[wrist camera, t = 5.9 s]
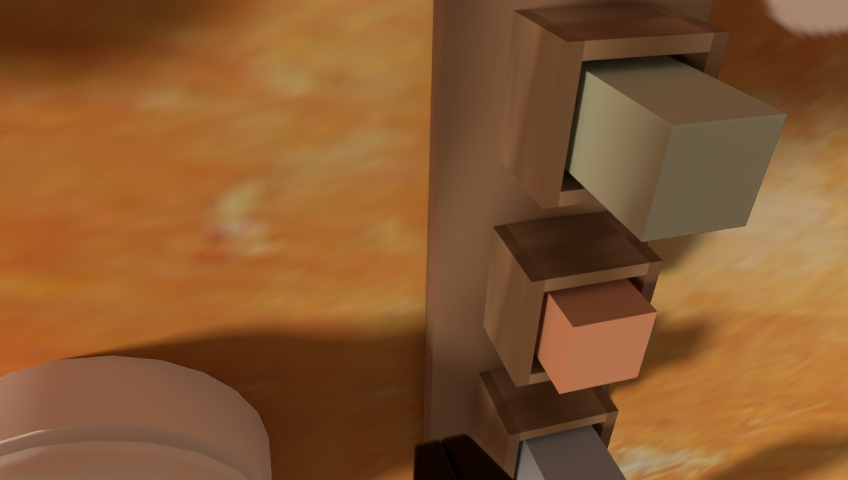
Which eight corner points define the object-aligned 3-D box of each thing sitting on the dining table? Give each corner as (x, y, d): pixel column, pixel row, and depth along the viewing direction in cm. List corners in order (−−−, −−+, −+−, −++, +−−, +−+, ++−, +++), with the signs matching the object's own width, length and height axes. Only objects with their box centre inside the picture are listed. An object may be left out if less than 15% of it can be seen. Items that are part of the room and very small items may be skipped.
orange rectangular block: (585, 233, 23) (657, 311, 19) (573, 293, 25) (637, 377, 21) (513, 243, 22) (573, 327, 18) (505, 305, 24) (559, 394, 20)
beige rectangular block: (662, 52, 17) (788, 113, 13) (639, 147, 19) (745, 225, 15) (568, 59, 16) (673, 125, 13) (553, 157, 18) (641, 242, 14)
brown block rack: (711, -95, 19) (832, -80, 15) (580, 429, 32) (626, 504, 29) (435, -94, 16) (497, -76, 13) (422, 466, 30) (449, 552, 27)
